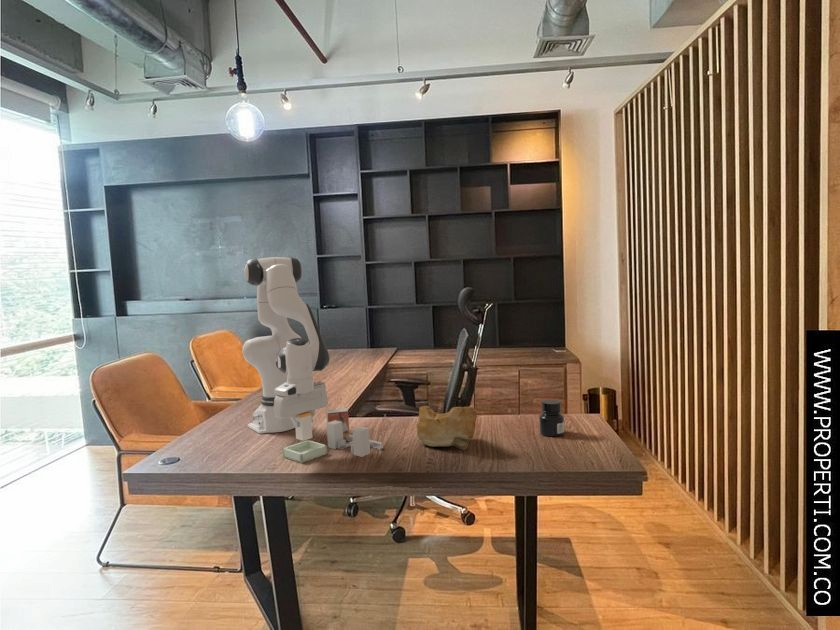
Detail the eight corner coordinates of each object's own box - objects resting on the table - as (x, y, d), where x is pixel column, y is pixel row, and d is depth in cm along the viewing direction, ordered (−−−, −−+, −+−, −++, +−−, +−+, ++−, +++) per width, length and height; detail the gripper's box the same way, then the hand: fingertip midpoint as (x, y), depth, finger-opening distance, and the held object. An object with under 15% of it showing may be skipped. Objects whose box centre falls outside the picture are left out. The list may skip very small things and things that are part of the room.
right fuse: (353, 454, 169) (352, 429, 169) (362, 451, 172) (360, 426, 172) (361, 457, 167) (360, 431, 166) (370, 453, 170) (368, 428, 169)
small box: (328, 440, 186) (327, 413, 185) (327, 436, 192) (325, 409, 191) (349, 437, 188) (348, 410, 187) (348, 433, 194) (346, 407, 193)
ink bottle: (565, 438, 177) (564, 405, 176) (540, 437, 179) (539, 405, 178) (563, 429, 186) (562, 398, 185) (539, 429, 188) (538, 398, 187)
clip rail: (329, 446, 179) (328, 438, 179) (349, 439, 186) (349, 431, 186) (362, 456, 167) (362, 447, 167) (383, 448, 175) (383, 439, 174)
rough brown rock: (493, 444, 176) (492, 402, 176) (471, 454, 162) (470, 409, 163) (438, 437, 189) (437, 398, 189) (413, 446, 175) (412, 404, 176)
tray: (282, 456, 170) (282, 448, 170) (308, 447, 178) (307, 439, 178) (301, 463, 163) (301, 454, 163) (327, 453, 171) (326, 445, 171)
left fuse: (327, 447, 178) (326, 422, 178) (336, 444, 181) (335, 420, 181) (335, 449, 176) (333, 424, 175) (343, 446, 179) (342, 421, 178)
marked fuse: (296, 438, 170) (294, 413, 169) (305, 435, 173) (304, 410, 172) (303, 440, 167) (301, 414, 167) (312, 437, 170) (311, 412, 170)
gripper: (319, 379, 179) (321, 416, 180) (270, 390, 164) (272, 431, 164) (330, 381, 175) (332, 419, 176) (280, 392, 159) (283, 434, 160)
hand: (303, 425), depth 170 cm, fingers closed on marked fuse, 4 cm apart
